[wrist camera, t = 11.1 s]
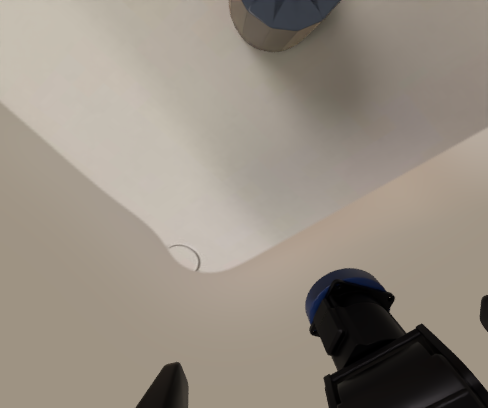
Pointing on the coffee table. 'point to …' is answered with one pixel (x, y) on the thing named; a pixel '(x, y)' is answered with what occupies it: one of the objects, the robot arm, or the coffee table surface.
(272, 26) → the pen cup
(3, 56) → the coffee table surface
